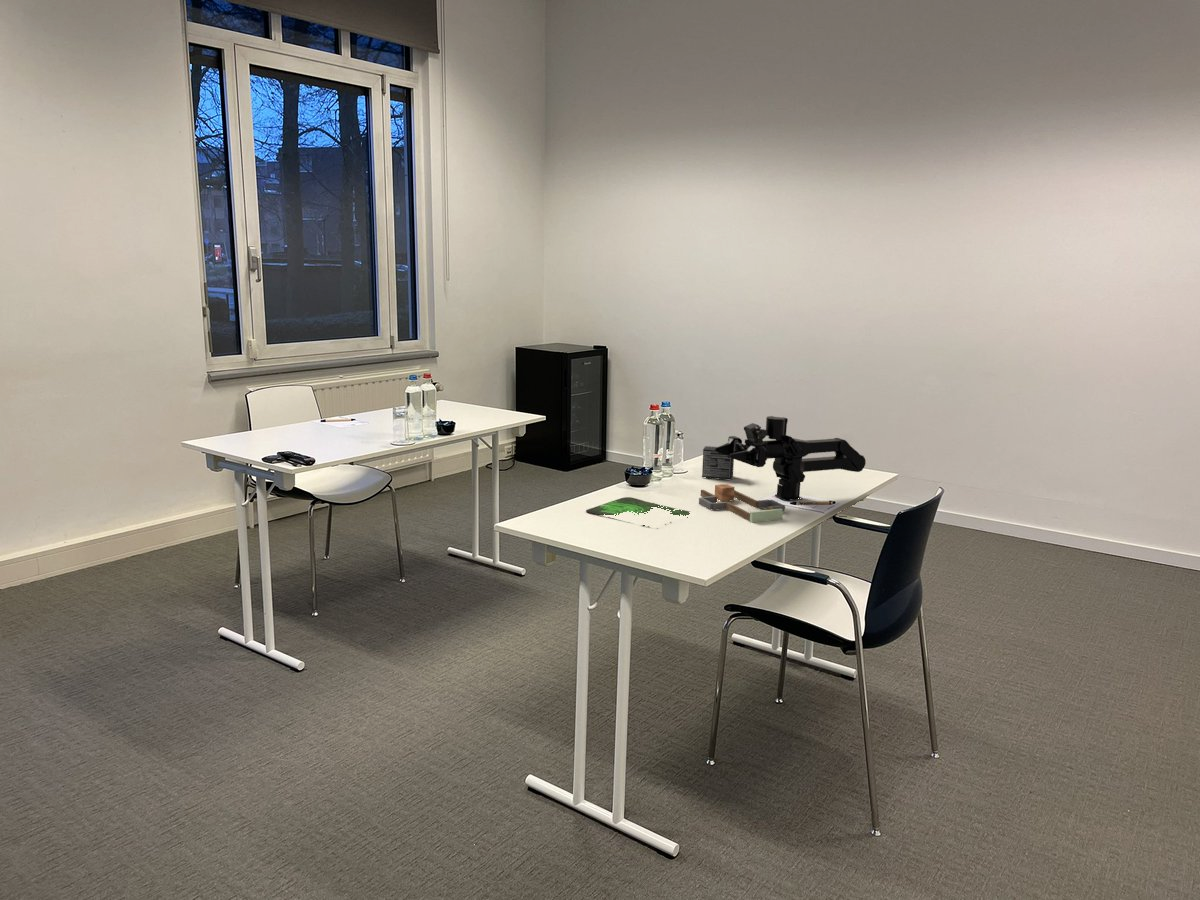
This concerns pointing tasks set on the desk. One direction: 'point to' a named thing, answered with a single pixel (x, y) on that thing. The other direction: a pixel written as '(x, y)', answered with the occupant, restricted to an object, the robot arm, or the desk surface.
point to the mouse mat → (630, 507)
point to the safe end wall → (766, 515)
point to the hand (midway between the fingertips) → (722, 452)
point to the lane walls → (734, 508)
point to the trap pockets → (710, 504)
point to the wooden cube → (724, 492)
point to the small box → (716, 464)
